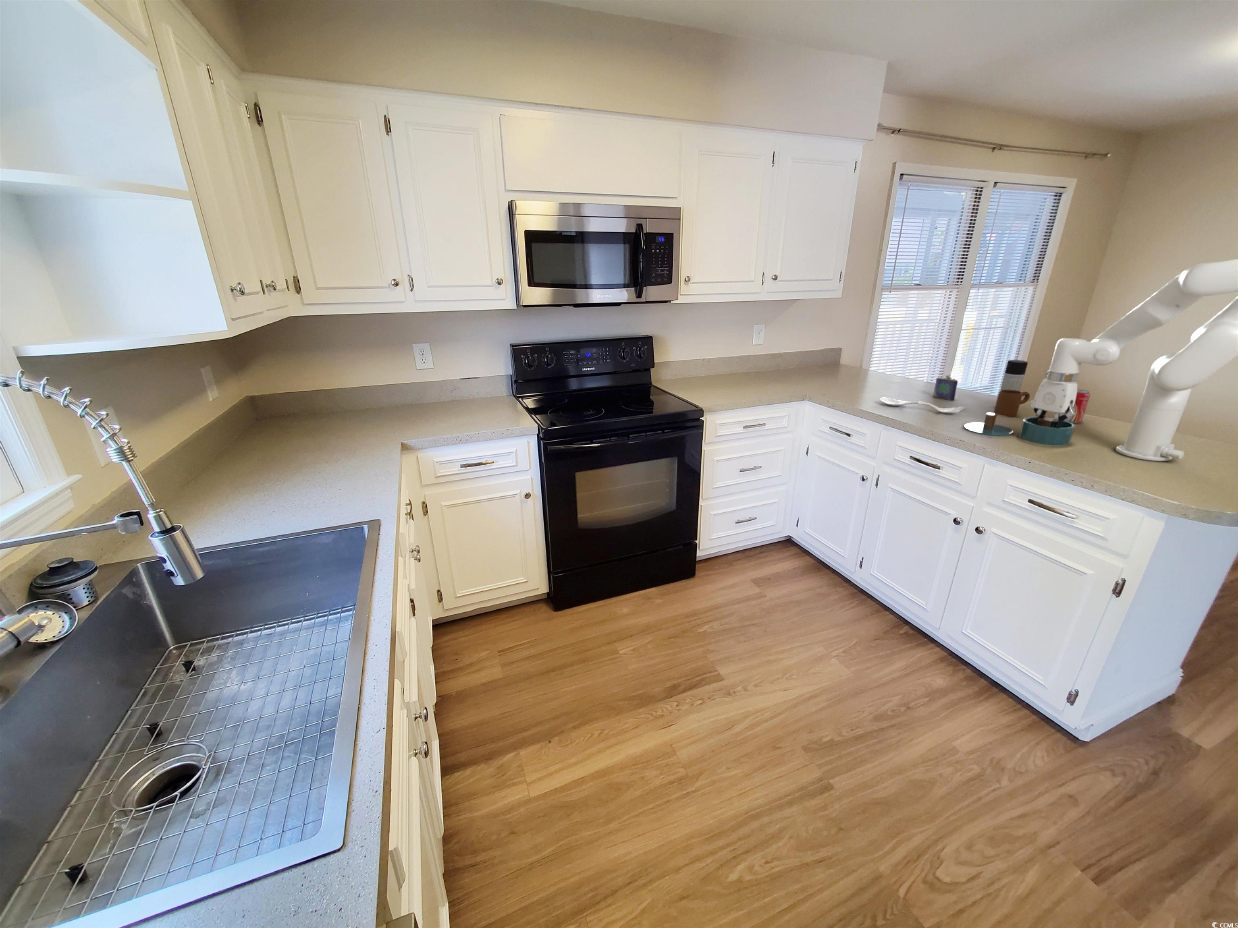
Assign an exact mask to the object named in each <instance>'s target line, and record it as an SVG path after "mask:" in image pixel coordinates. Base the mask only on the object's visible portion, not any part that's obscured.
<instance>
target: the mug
mask: <svg viewBox="0 0 1238 928" xmlns="http://www.w3.org/2000/svg"><path fill="white" fill-rule="evenodd" d="M1030 398H1031V394H1030V392H1028V391H1021V390H1020V391H1015V390H1000V389H999V392H998V394H997V398H996V402H995V406H994V409H993V410H994V411H993V413H995V414H997V415H999V416H1003V417H1004V416H1005V417H1008V418H1012V417H1016V416H1017V415H1018V413H1019V410H1020V405H1023V404H1027V402H1028V401H1029V400H1030Z"/></svg>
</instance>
